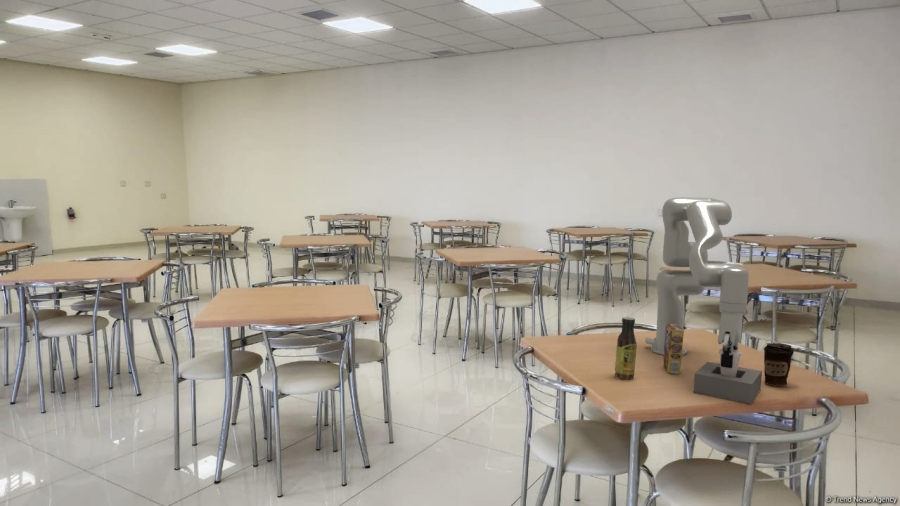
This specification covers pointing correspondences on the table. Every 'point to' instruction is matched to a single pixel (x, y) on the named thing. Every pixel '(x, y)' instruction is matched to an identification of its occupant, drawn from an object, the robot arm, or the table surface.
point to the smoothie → (734, 368)
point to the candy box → (673, 348)
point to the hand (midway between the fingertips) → (729, 364)
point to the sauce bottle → (626, 350)
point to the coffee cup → (777, 363)
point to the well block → (728, 383)
